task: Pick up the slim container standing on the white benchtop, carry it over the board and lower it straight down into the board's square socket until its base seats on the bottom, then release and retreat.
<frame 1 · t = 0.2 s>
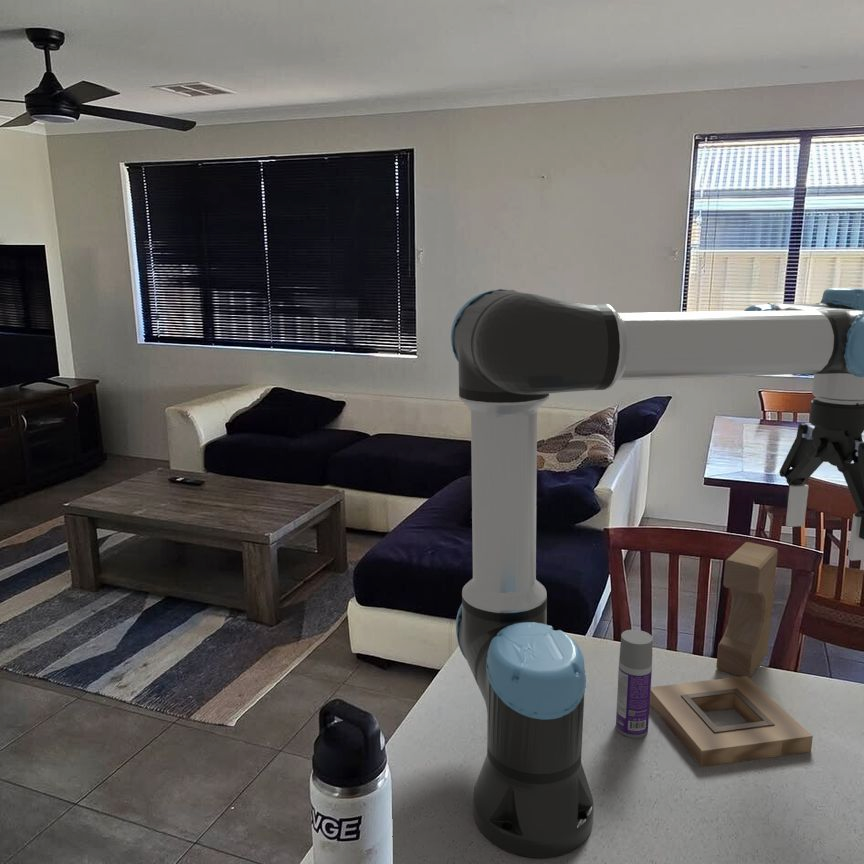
hand: (824, 541, 110), 28 cm above the kitchen counter, fingers open, 13 cm apart
container: (631, 729, 112), on the kitchen counter
board: (724, 725, 113), on the kitchen counter
decorative block: (742, 662, 130), on the kitchen counter
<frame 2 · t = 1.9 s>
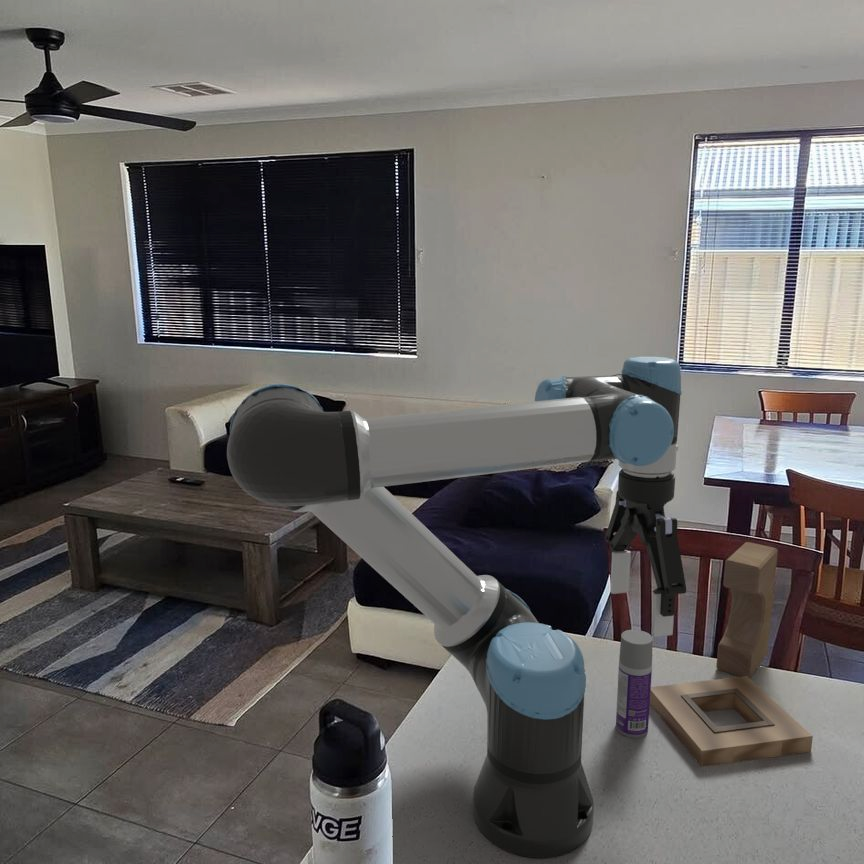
hand: (639, 612, 108), 19 cm above the kitchen counter, fingers open, 13 cm apart
nothing on the kitchen counter moved.
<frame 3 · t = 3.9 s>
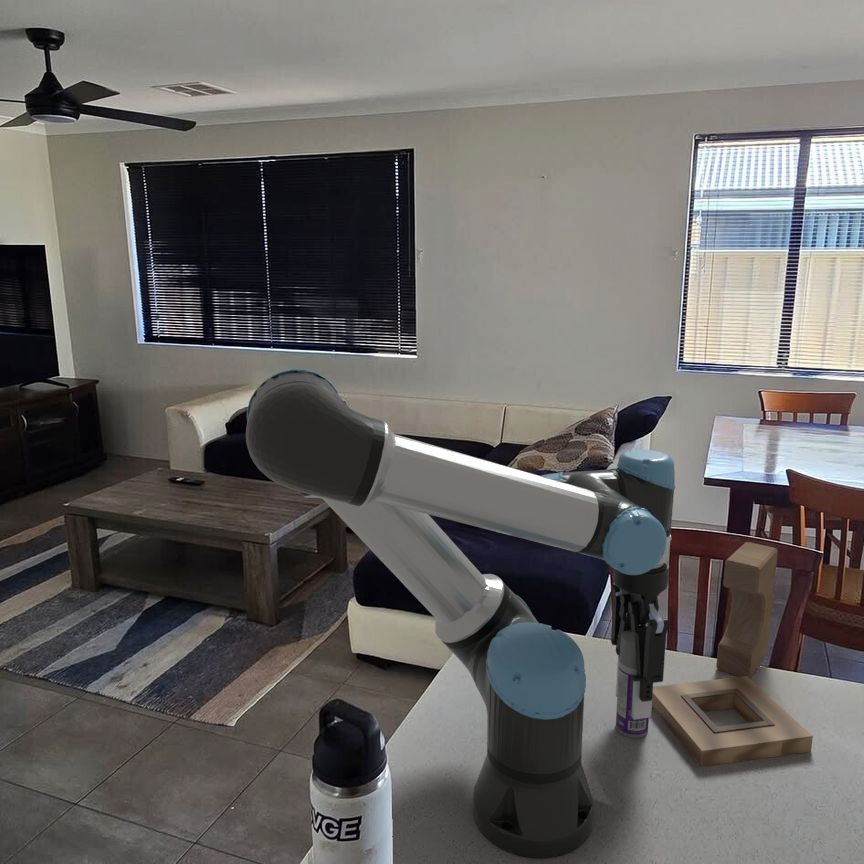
hand: (633, 706, 111), 4 cm above the kitchen counter, fingers closed on container, 5 cm apart
container: (631, 729, 112), on the kitchen counter, touching gripper
everything else where it was.
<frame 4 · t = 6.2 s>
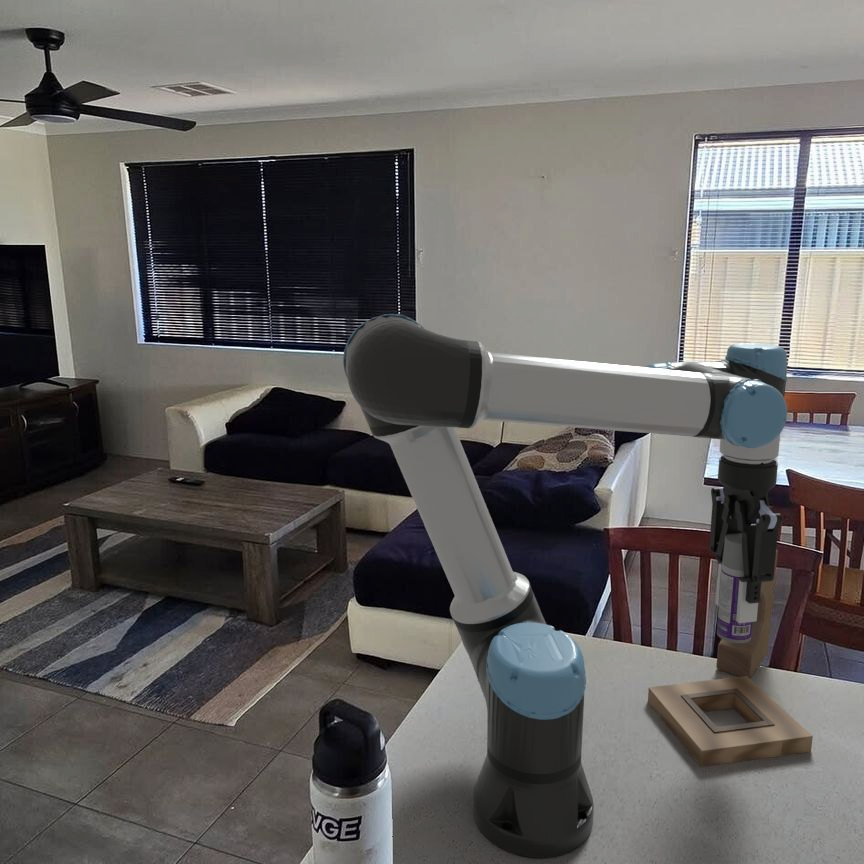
hand: (735, 612, 109), 18 cm above the kitchen counter, fingers closed on container, 5 cm apart
container: (733, 636, 110), point 15 cm above the kitchen counter, touching gripper
everything else where it was.
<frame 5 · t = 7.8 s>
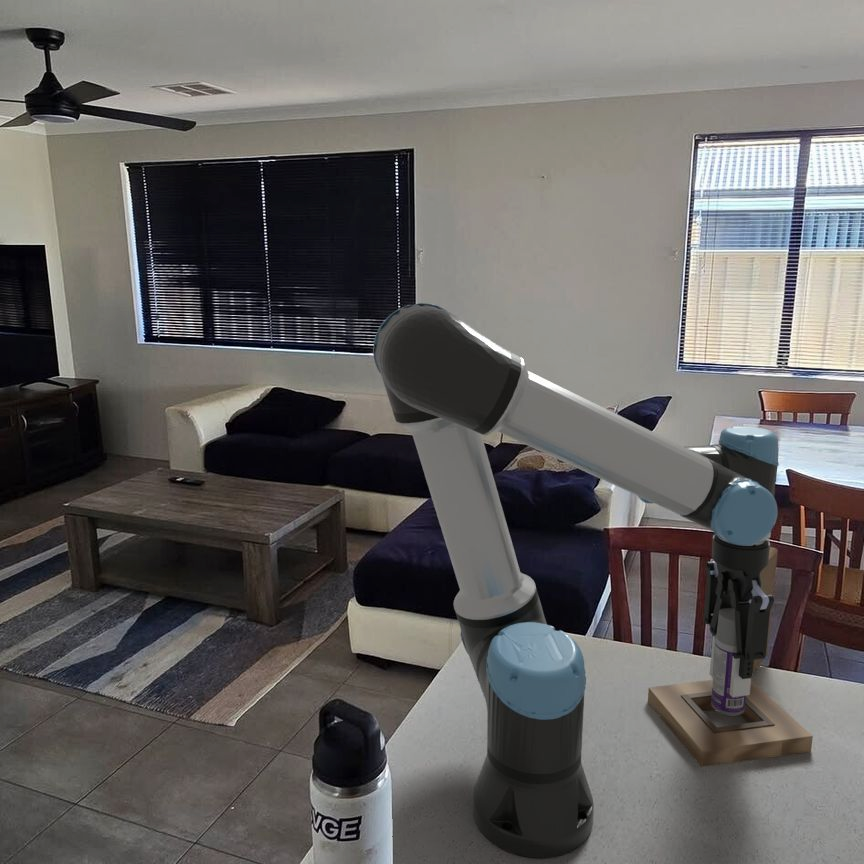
hand: (729, 684, 111), 7 cm above the kitchen counter, fingers closed on container, 5 cm apart
container: (727, 707, 112), point 3 cm above the kitchen counter, touching gripper
everything else where it was.
when the fingers open (4 cm above the kitchen counter, at t = 8.9 s): container stays where it is, resting in board.
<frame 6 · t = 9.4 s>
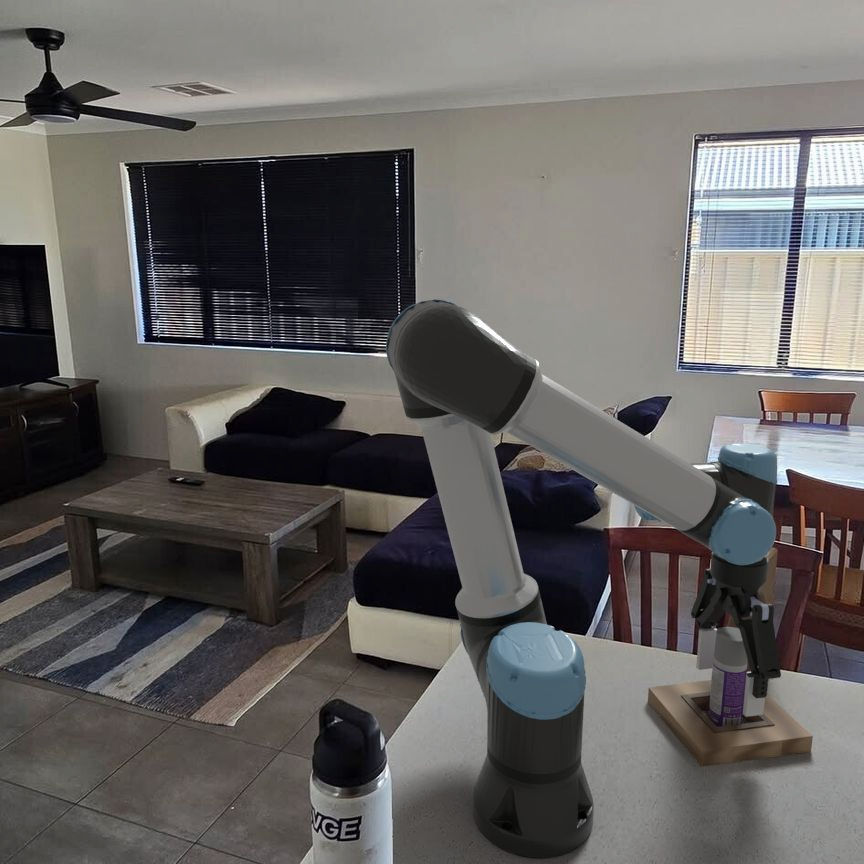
hand: (727, 689, 112), 6 cm above the kitchen counter, fingers open, 12 cm apart
container: (724, 726, 113), resting in board
everything else where it was.
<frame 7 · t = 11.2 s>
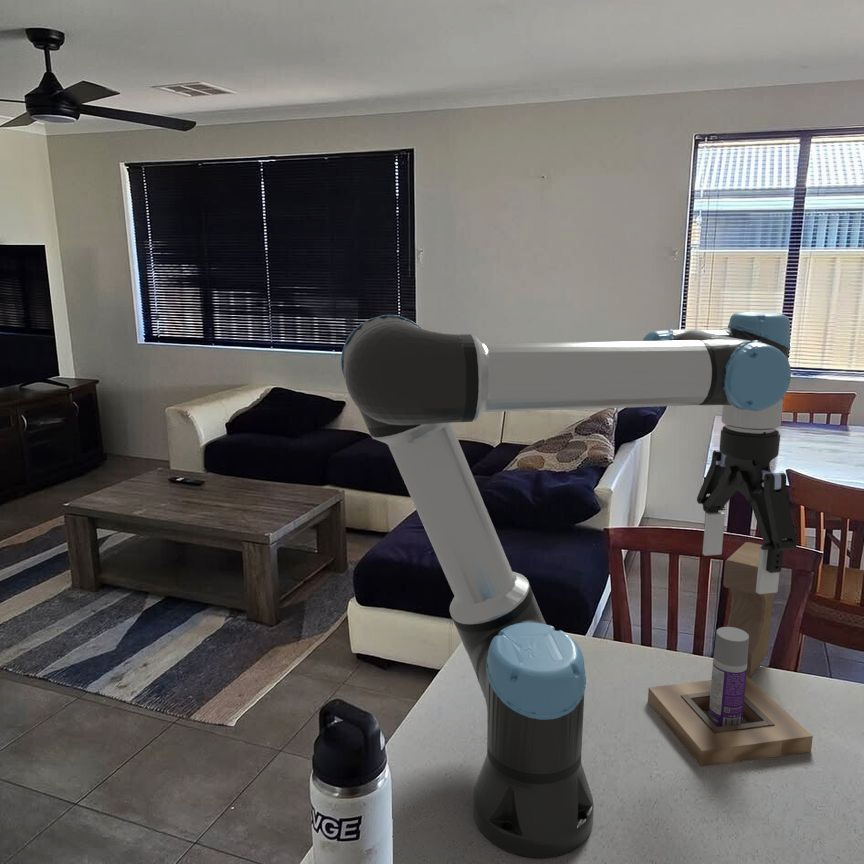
hand: (737, 572, 107), 25 cm above the kitchen counter, fingers open, 13 cm apart
nothing on the kitchen counter moved.
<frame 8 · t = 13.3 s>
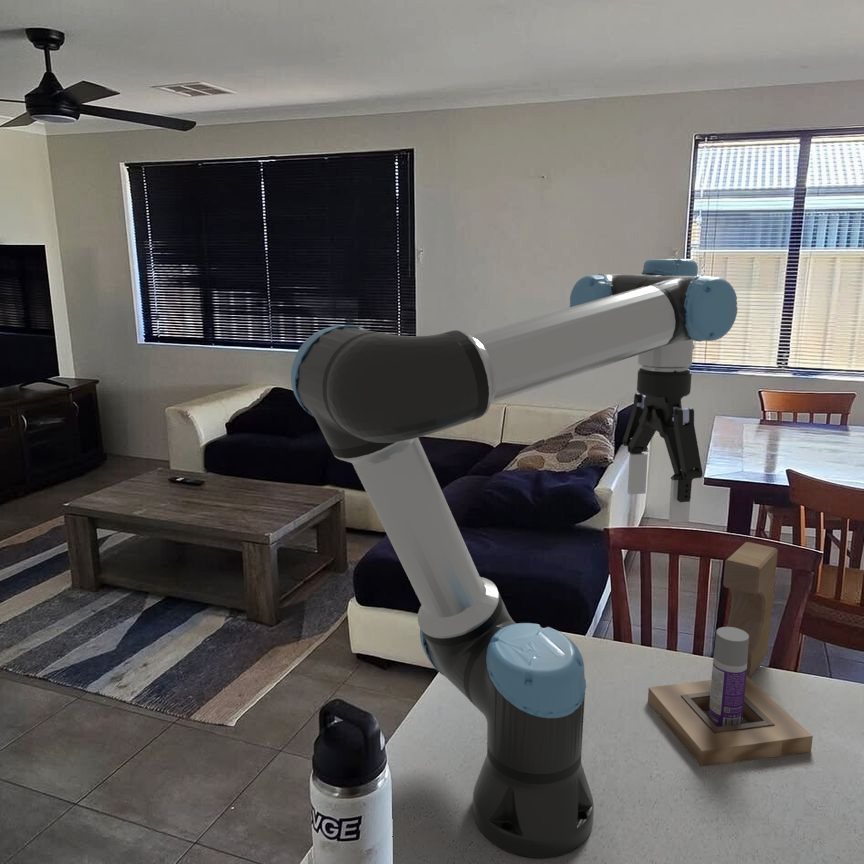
hand: (656, 506, 114), 32 cm above the kitchen counter, fingers open, 13 cm apart
nothing on the kitchen counter moved.
at the end: container 0.0 cm off-centre on the board, point 0.0 cm above the board's base; container tilted 0°; the gripper is holding nothing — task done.
